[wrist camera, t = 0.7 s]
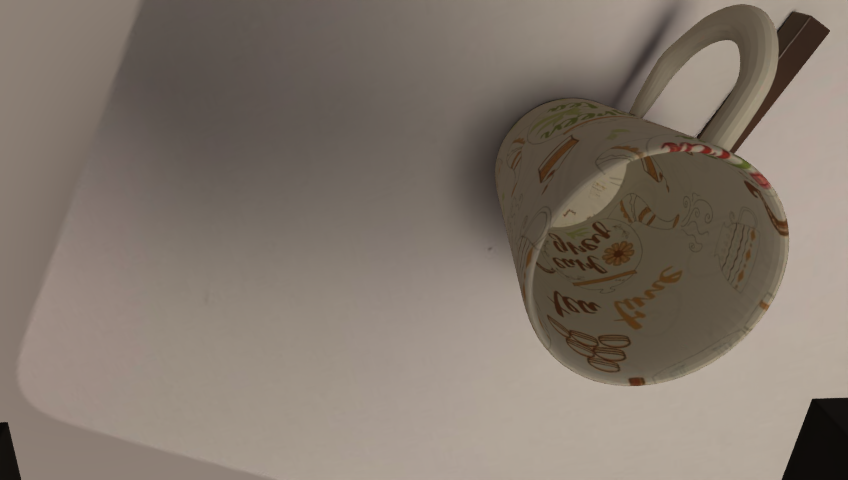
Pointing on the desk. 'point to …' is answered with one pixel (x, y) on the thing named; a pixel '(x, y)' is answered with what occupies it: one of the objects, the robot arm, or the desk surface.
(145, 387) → the desk surface
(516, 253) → the mug
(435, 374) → the desk surface
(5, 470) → the robot arm
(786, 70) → the strip
